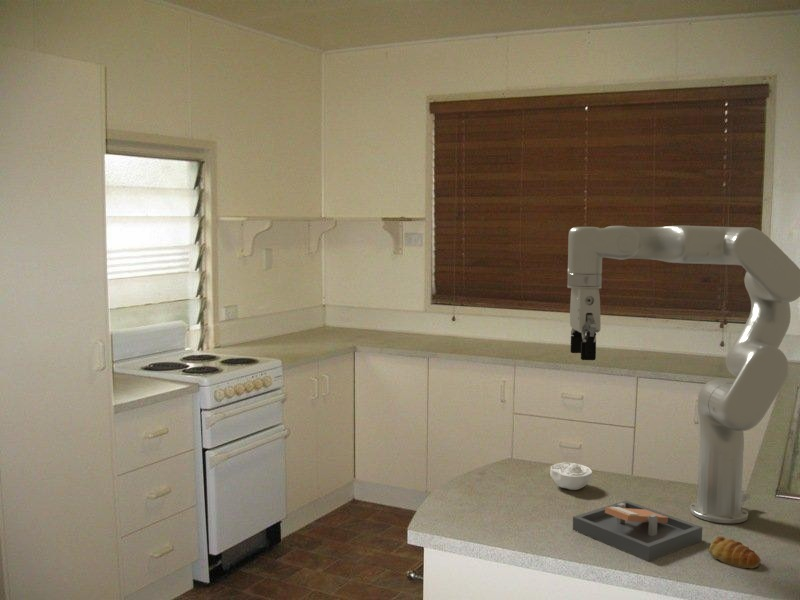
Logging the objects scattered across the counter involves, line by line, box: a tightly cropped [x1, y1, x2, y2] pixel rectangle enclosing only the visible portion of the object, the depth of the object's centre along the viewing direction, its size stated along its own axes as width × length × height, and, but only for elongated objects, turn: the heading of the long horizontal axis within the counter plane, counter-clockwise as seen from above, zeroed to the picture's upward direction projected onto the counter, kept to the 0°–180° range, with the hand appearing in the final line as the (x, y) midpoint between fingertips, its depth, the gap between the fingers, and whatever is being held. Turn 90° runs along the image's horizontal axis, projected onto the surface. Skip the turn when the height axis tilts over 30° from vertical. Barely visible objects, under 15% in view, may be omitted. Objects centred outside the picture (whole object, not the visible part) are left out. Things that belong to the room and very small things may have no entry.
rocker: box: [605, 506, 668, 523], centre depth 169 cm, size 14×7×2 cm, turn 125°
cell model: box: [549, 461, 593, 491], centre depth 201 cm, size 10×12×7 cm
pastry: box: [708, 535, 761, 569], centre depth 157 cm, size 9×7×4 cm
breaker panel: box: [572, 500, 703, 562], centre depth 169 cm, size 18×20×6 cm
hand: (582, 356), depth 178 cm, fingers open, 9 cm apart
